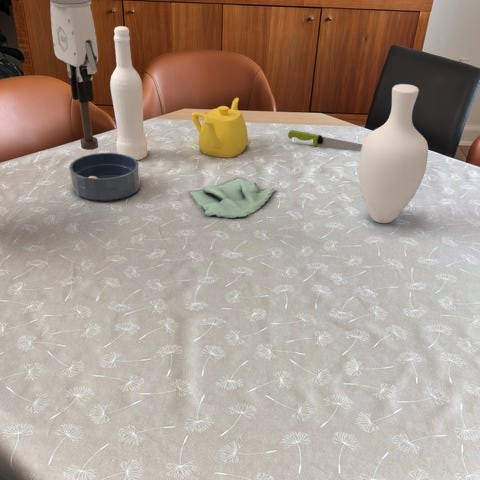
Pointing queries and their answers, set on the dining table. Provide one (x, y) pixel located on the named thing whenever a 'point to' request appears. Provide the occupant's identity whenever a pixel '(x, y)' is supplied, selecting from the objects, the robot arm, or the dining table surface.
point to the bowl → (105, 176)
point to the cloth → (232, 199)
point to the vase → (393, 159)
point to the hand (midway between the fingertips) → (83, 99)
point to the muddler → (87, 127)
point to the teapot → (222, 131)
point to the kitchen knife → (324, 141)
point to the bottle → (127, 100)
